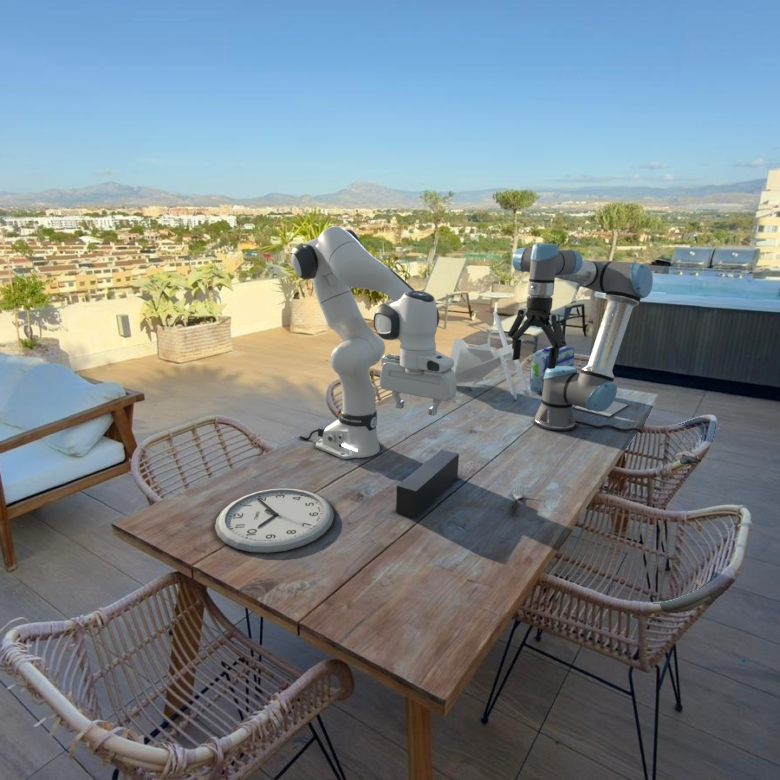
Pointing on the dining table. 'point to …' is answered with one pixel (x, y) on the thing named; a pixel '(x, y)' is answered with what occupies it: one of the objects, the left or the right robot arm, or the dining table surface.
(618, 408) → the invitation card
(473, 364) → the white plastic object
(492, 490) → the dining table surface
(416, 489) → the bar
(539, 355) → the lunch box
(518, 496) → the fork
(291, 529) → the wall clock
